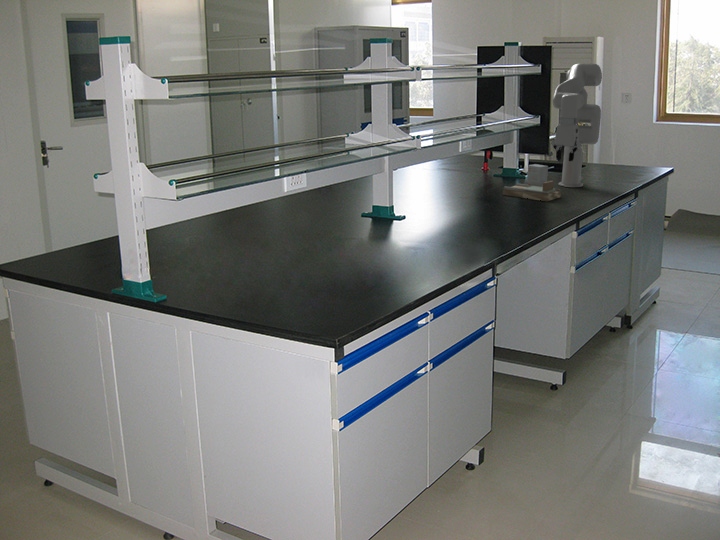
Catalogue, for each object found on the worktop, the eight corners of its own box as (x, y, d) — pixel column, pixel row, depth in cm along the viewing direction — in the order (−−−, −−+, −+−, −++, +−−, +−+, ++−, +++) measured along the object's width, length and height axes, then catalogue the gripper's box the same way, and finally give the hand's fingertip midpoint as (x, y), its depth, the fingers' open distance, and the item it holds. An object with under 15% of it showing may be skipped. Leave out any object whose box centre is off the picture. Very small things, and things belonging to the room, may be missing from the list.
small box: (546, 191, 385) (548, 165, 381) (538, 192, 381) (540, 167, 378) (533, 188, 391) (535, 163, 387) (526, 190, 387) (527, 165, 384)
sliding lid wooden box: (517, 190, 386) (517, 183, 384) (560, 197, 370) (561, 189, 369) (502, 194, 376) (503, 186, 374) (546, 201, 360) (547, 193, 359)
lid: (533, 187, 377) (534, 177, 375) (555, 191, 369) (556, 180, 368) (523, 190, 370) (523, 180, 368) (545, 193, 362) (546, 183, 361)
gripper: (588, 122, 349) (585, 161, 355) (554, 119, 360) (551, 157, 365) (581, 123, 344) (577, 163, 349) (547, 120, 355) (544, 159, 360)
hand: (564, 159), depth 357 cm, fingers open, 5 cm apart
